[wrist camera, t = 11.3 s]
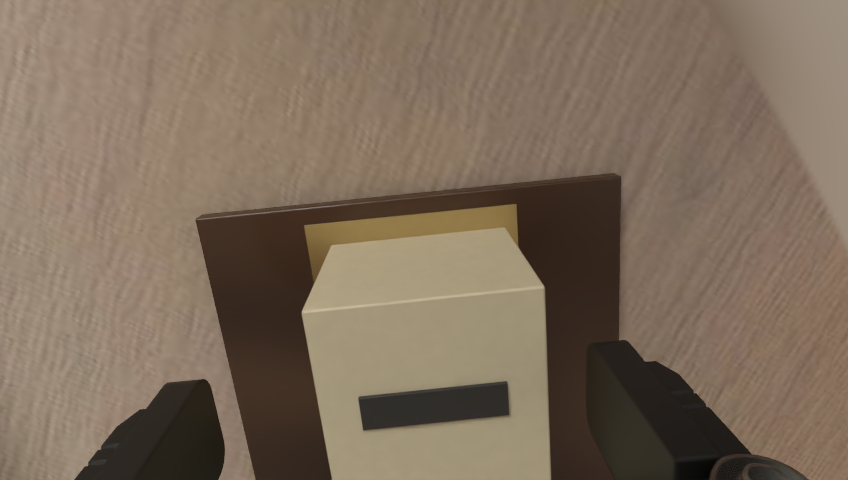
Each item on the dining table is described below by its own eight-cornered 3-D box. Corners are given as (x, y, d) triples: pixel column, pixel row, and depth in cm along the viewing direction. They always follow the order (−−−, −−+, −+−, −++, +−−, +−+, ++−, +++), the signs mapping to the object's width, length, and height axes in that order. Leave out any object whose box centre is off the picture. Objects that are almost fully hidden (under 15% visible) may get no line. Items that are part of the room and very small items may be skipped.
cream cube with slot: (330, 244, 15) (298, 313, 11) (505, 226, 15) (546, 288, 11) (354, 396, 16) (336, 512, 12) (513, 380, 16) (553, 489, 12)
